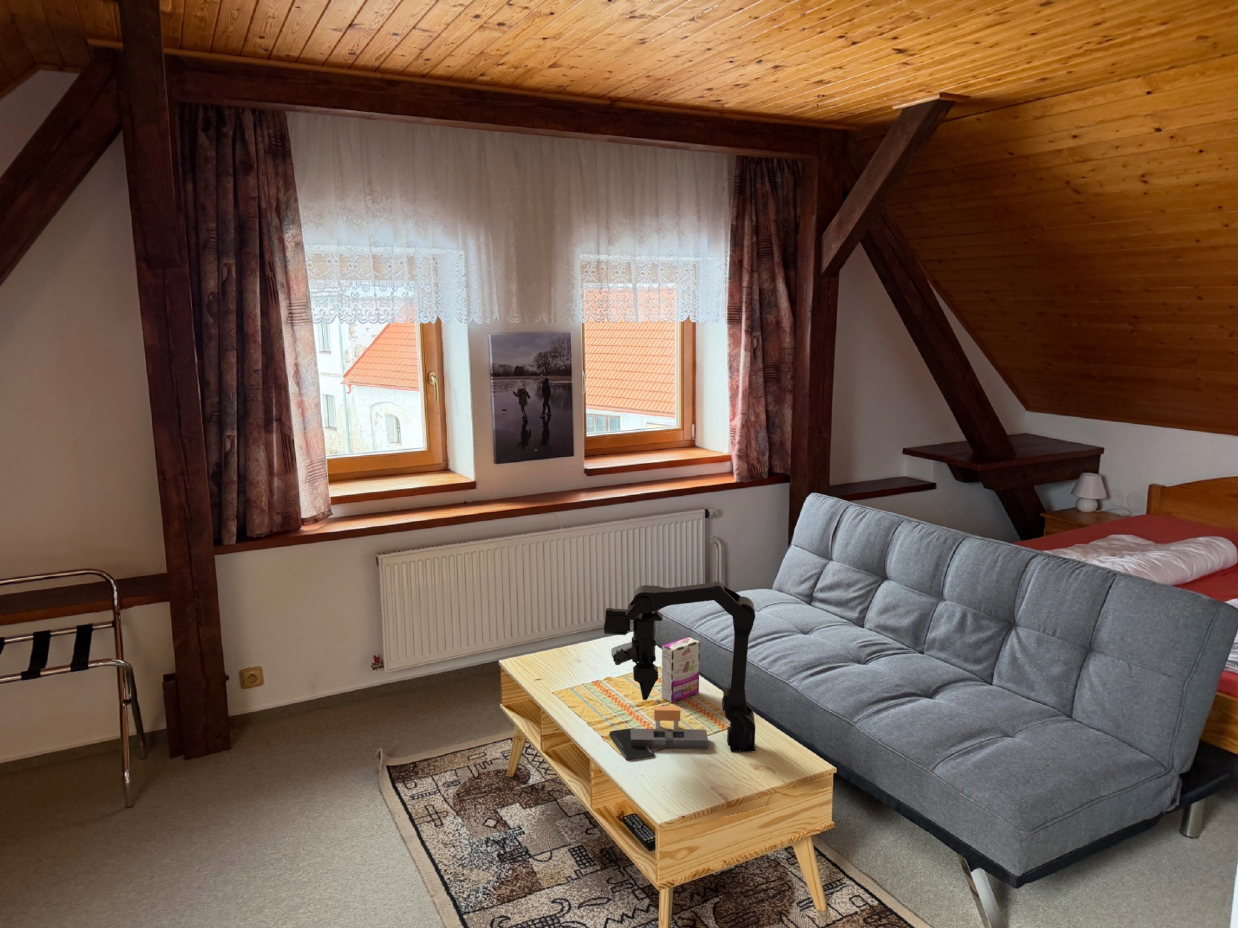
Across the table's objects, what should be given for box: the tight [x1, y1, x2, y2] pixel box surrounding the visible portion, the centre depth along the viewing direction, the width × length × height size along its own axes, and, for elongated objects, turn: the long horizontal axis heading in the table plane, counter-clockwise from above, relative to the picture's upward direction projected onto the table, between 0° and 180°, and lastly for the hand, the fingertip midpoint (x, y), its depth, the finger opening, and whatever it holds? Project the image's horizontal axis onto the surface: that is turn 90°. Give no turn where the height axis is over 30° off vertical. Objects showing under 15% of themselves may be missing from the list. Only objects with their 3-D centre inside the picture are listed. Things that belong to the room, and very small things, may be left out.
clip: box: [653, 705, 681, 729], centre depth 243 cm, size 7×2×6 cm, turn 90°
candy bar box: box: [661, 636, 701, 704], centre depth 262 cm, size 11×5×16 cm, turn 129°
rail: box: [630, 728, 709, 750], centre depth 234 cm, size 20×6×2 cm, turn 90°
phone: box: [609, 727, 655, 761], centre depth 233 cm, size 8×1×15 cm
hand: (643, 692), depth 233 cm, fingers open, 9 cm apart
